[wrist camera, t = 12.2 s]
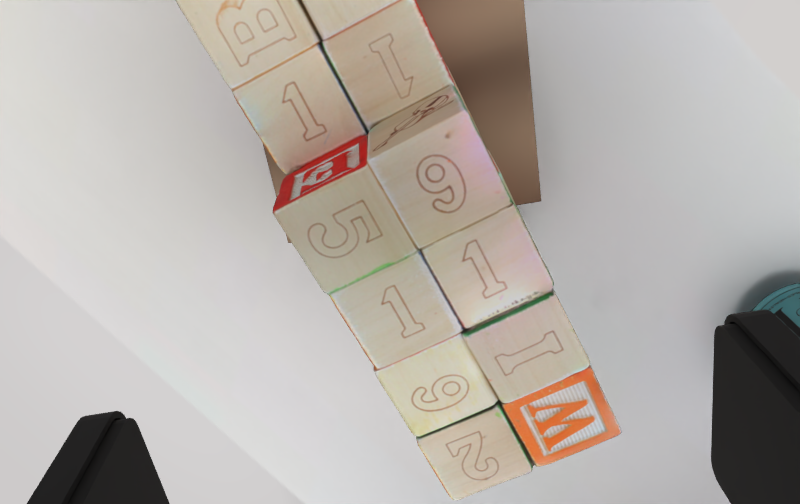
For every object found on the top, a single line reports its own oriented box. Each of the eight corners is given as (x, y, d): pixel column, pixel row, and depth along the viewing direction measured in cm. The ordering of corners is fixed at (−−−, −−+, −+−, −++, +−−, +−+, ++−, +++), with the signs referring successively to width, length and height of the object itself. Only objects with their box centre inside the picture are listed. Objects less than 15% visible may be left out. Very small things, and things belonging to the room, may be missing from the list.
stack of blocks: (189, -102, 27) (53, -129, 15) (332, -186, 26) (298, -281, 14) (428, 326, 35) (453, 510, 24) (544, 274, 34) (627, 441, 23)
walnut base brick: (521, 168, 37) (541, 201, 32) (299, 205, 37) (288, 243, 33) (501, -33, 33) (521, -28, 28) (252, 12, 33) (232, 24, 29)
